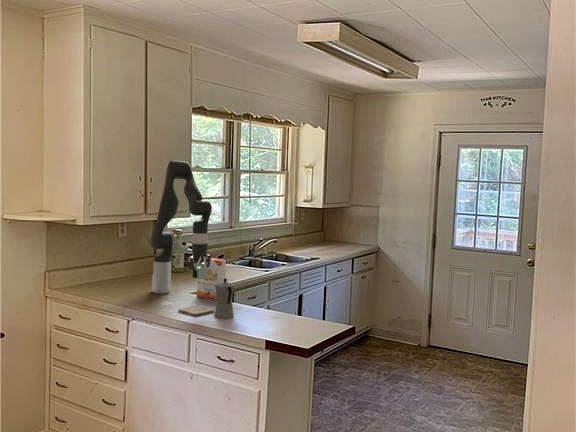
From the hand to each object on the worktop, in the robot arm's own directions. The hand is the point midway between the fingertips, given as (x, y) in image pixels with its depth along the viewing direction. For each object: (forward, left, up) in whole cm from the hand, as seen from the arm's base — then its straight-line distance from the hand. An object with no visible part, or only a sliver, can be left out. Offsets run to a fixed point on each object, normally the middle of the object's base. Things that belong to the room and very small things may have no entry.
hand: (199, 277), depth 276 cm
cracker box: (-16, +24, -16) cm, 33 cm away
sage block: (0, 0, 0) cm, 0 cm away
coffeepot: (+17, +1, -16) cm, 24 cm away
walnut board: (+2, -3, -16) cm, 17 cm away
